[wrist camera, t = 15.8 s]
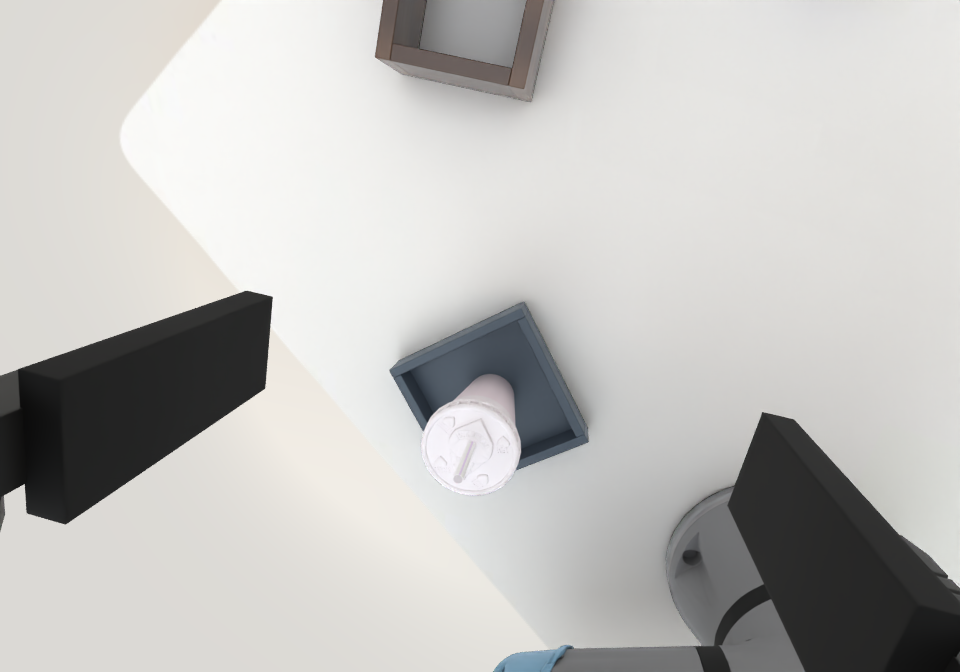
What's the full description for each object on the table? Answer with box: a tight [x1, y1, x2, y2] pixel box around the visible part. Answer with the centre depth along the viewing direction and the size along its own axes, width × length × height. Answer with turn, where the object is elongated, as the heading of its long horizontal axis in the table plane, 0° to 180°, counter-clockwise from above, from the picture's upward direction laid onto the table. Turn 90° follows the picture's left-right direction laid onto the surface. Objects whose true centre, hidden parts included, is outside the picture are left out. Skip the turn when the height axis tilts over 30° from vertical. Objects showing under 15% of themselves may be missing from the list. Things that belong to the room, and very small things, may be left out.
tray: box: [390, 302, 589, 471], centre depth 44 cm, size 11×11×2 cm
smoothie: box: [421, 374, 521, 496], centre depth 38 cm, size 6×6×14 cm
